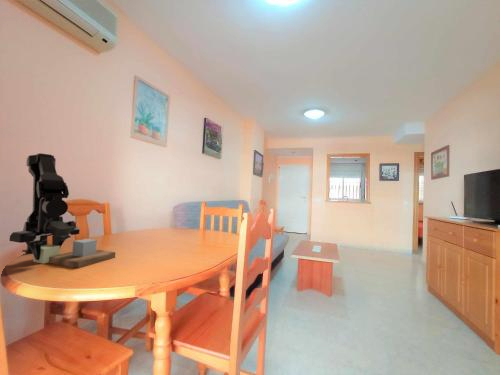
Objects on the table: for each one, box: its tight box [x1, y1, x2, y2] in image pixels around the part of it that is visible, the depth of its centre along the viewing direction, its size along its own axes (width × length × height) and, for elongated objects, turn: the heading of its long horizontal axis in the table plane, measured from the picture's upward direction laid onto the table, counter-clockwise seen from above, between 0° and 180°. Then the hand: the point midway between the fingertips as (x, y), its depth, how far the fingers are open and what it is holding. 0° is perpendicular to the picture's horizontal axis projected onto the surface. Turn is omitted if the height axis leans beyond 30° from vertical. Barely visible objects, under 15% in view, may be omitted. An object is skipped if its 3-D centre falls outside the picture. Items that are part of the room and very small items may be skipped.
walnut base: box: [48, 248, 116, 269], centre depth 84 cm, size 14×14×2 cm
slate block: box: [71, 238, 97, 257], centre depth 84 cm, size 5×5×5 cm
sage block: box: [32, 243, 61, 264], centre depth 81 cm, size 5×5×5 cm
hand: (46, 257), depth 81 cm, fingers closed on sage block, 5 cm apart
